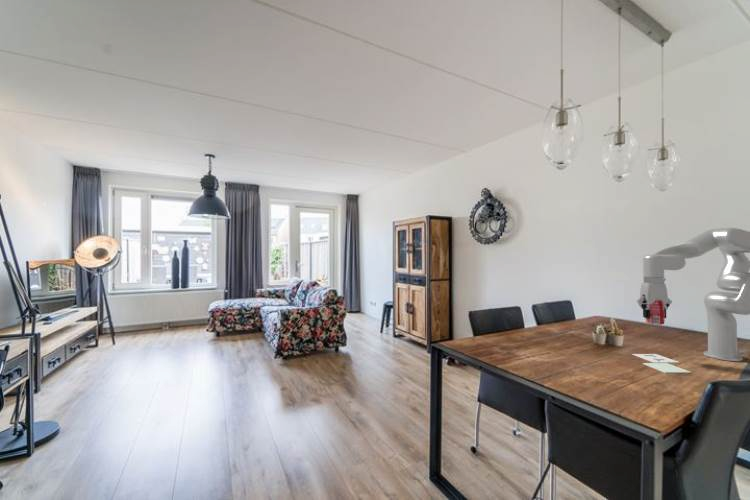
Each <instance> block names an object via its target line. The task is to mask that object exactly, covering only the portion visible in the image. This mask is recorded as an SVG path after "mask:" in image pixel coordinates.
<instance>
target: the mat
mask: <svg viewBox="0 0 750 500" xmlns="http://www.w3.org/2000/svg"><path fill="white" fill-rule="evenodd" d="M642 365H645V366H647V367H649V368H652V369H654V370H656V371H659V372H661V373H664V374H692V371H690V370H687V369H683V368H681V367H679V366H676V365H673V364H672V363H653V362H643V363H642Z"/></svg>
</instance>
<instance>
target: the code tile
mask: <svg viewBox="0 0 750 500" xmlns="http://www.w3.org/2000/svg"><path fill="white" fill-rule="evenodd" d="M631 355H632V356H635V357H637V358H641V359H643V360H645V361H649V363H668V364H672V363H675V364H676V363H679V364H680V362H679V361H678V360H674V359H672V358H668V357H666V356H663V355H660V354H658V353H632V354H631Z"/></svg>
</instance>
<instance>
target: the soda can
mask: <svg viewBox="0 0 750 500" xmlns="http://www.w3.org/2000/svg"><path fill="white" fill-rule="evenodd" d="M646 303H647V302H646ZM646 306H647V305H646ZM648 310H650V318H644V320H645V322H646V323H647V324H649V325H653V326H662V325H664V324H665V319H666V318H665V313H664V303H663V302H662V300H655V301H654V302H653V303H652V304H651V305H650V308H649V309H648Z"/></svg>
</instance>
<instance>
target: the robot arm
mask: <svg viewBox="0 0 750 500" xmlns="http://www.w3.org/2000/svg"><path fill="white" fill-rule="evenodd" d="M717 248H718V249H719V251H720V252H721V254H722V255H723V258H724V263H723V267H722V268H721V270H720V273H719V275H718V277H717V281H716V286H717V288H719V289H720V290H721V291H712V292H711V291H710V292H709V293H707V294H706V295H705V296H704V297H703V298H704V299H703V302H704V306H705V311H706V314H707V316H706V317H707V350H705V351H703V355H704V356H706V357H709V358H712V359H716V360H722V361H728V362H742V361H743V357H742V356H740V355H746V354H747V351H746V349H739V348H738V322H737V320H736V317H735V316H734V314H735V315H743V316H748V315H750V259H749V257H747V256H746V254H747V253H749V254H750V231H748V230H744V229H742V228H737V227H736V228H735V227H723V228H722V227H721V228H713V229H707V230H705V231H704V232H703V231H702V233H700V234H698V235H696V236H694V237H692V238H691V239H689V240H686V241H684V242H681V243H678V244H675V245H671V246H668V247H666V248H663V249H661V250H659V251H657V252H655V253H653V254H647V255H644V256H643V258H642V262H643V263H642V264H643V265H642V267H643V268H642V269H643V270H642V271H643V283H641V286H640V289H639V290H640V291H639V292H640V293H639V298H638V300H636V303H637V304H638V305H639V307H640V308H641V309H642V317H643V318H644V319H645V318H650V310H648V309H649V308H650V305H651V304H652V303H653V302H654V301H655V300H662V302H663V303H664V313H665V319H667V310H668V309H669V307H670V305H671V304H672V302H673V301H672V299H670V298H669V295H668V288H667V285H666V283H665V281H666V280H667V279H666V278H665V271H680V270H681V269H683V268H684V267H685V266H686V263H687V262H686V260H687V259H694V258H699V257H701V256H704V255H705V254H707V253H709V252H711V251H713V250H715V249H717ZM722 290H723V291H722ZM725 291H726V292H725ZM646 302H647V303H646ZM646 305H647V306H646Z"/></svg>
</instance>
